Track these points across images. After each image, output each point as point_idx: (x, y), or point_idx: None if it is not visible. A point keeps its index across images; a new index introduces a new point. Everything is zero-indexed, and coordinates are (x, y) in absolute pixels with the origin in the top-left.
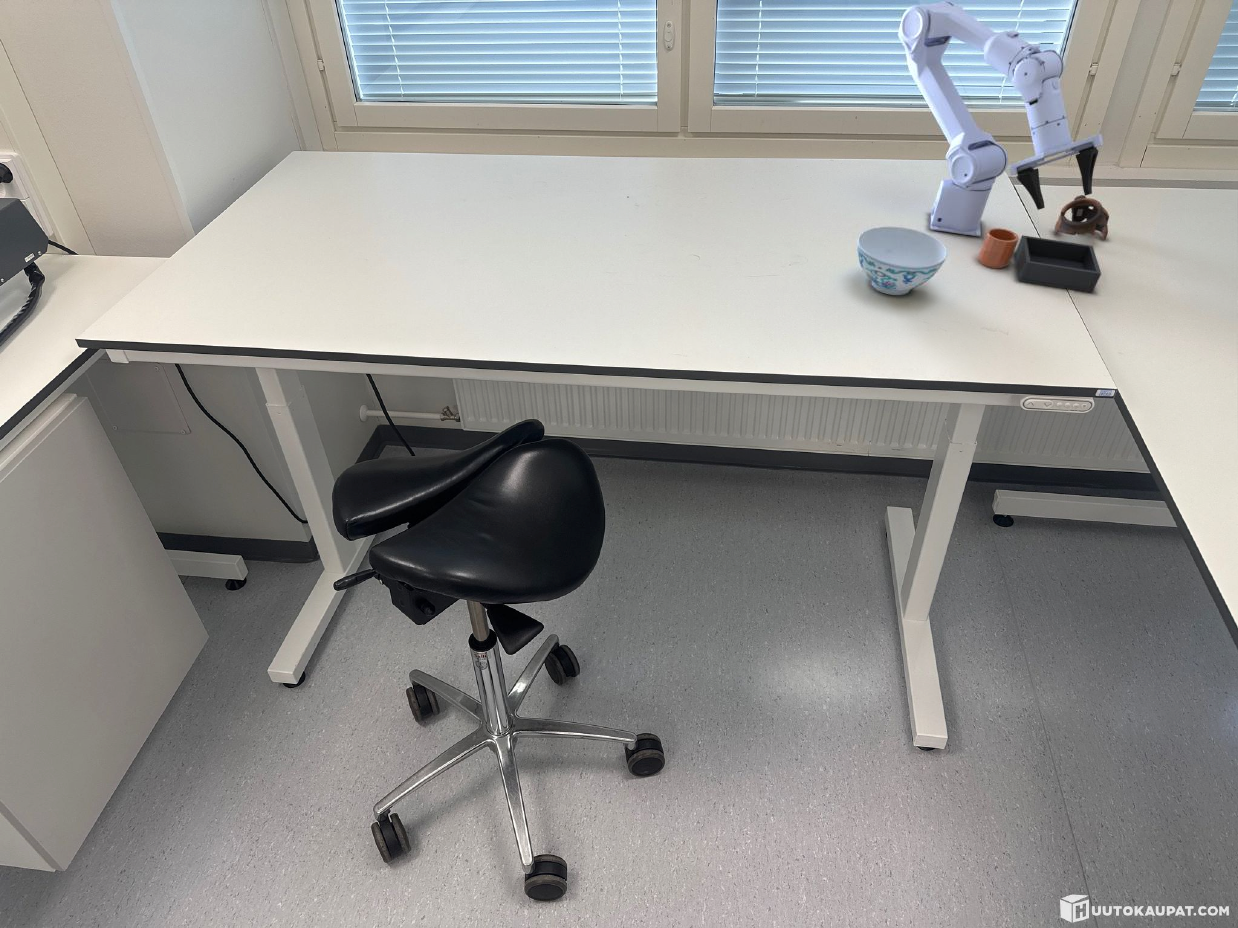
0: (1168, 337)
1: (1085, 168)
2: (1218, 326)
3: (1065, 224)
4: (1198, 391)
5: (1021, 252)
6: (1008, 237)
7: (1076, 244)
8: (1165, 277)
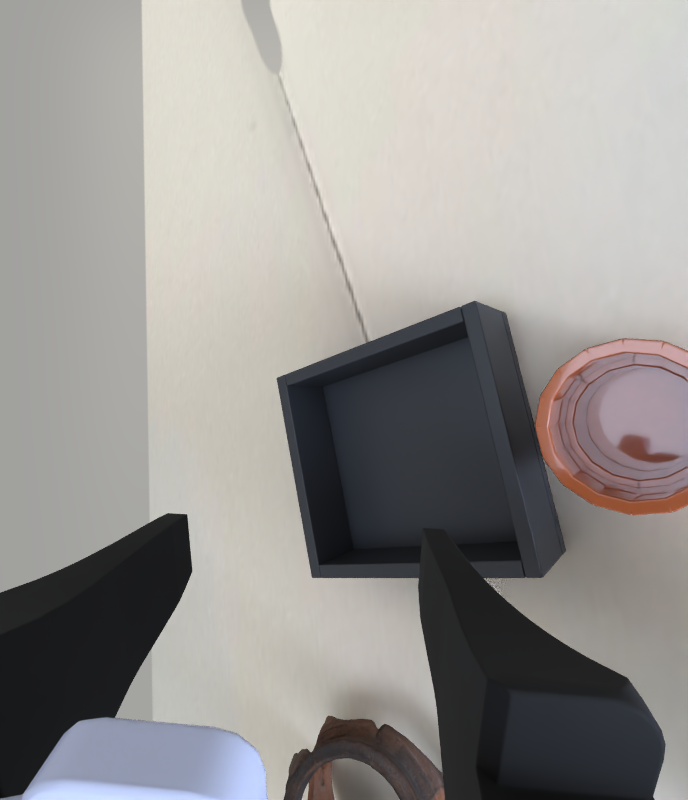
0: (201, 275)
1: (44, 589)
2: (156, 384)
3: (408, 777)
4: (167, 118)
5: (523, 453)
6: (598, 484)
7: (350, 568)
8: (217, 561)
